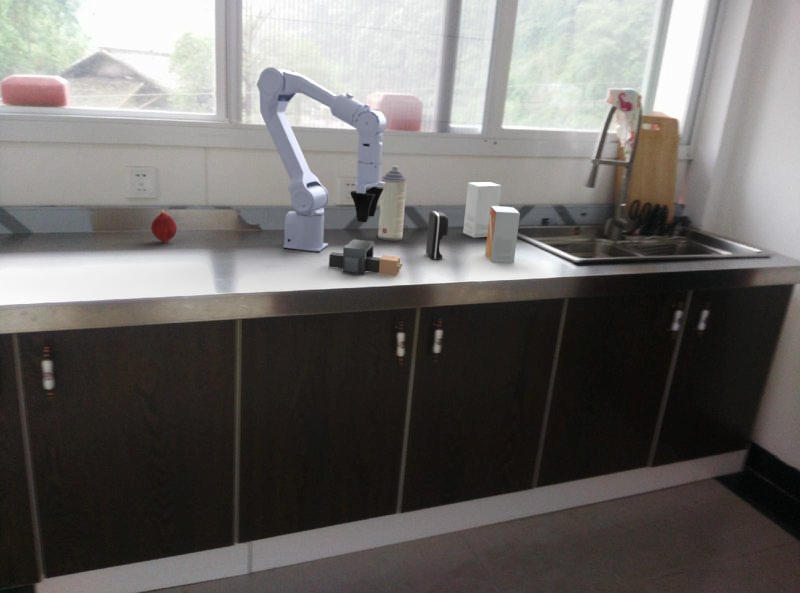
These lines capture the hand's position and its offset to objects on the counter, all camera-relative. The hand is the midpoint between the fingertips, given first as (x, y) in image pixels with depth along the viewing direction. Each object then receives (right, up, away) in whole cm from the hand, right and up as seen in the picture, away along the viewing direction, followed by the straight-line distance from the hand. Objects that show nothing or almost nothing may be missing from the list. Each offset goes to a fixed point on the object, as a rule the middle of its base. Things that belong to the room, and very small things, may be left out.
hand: (366, 218), depth 157 cm
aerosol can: (+6, -3, +24) cm, 25 cm away
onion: (-50, -6, +1) cm, 50 cm away
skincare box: (+32, -1, +37) cm, 49 cm away
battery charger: (+17, -9, +8) cm, 21 cm away
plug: (0, -13, -9) cm, 16 cm away
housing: (-1, -13, -9) cm, 15 cm away
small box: (+34, -9, +11) cm, 37 cm away
